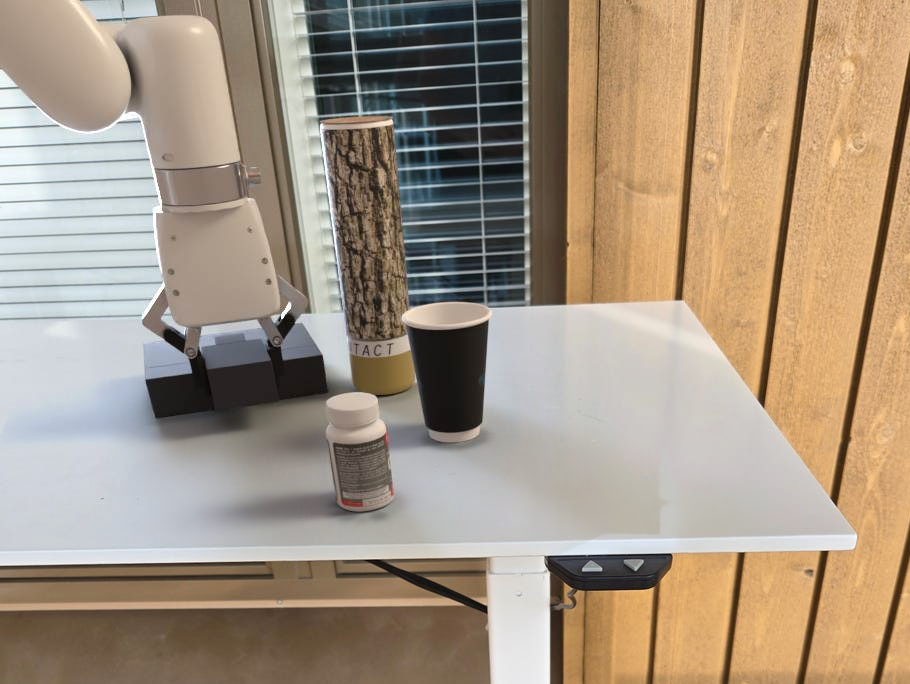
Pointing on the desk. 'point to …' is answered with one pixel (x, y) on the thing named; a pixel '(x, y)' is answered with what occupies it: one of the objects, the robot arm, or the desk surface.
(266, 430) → the desk surface
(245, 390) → the dark grey stepped block
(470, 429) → the dixie cup
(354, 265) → the paper tube
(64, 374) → the desk surface
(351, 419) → the pill bottle
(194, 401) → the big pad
